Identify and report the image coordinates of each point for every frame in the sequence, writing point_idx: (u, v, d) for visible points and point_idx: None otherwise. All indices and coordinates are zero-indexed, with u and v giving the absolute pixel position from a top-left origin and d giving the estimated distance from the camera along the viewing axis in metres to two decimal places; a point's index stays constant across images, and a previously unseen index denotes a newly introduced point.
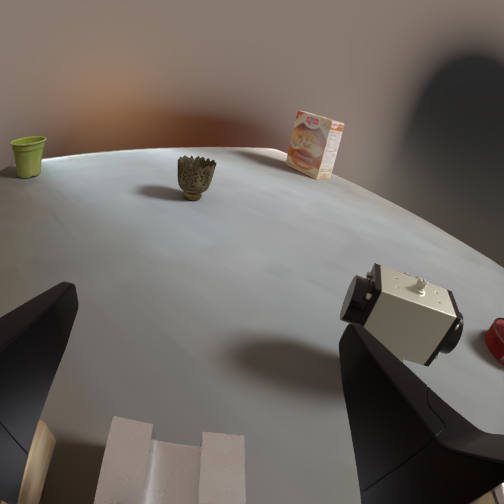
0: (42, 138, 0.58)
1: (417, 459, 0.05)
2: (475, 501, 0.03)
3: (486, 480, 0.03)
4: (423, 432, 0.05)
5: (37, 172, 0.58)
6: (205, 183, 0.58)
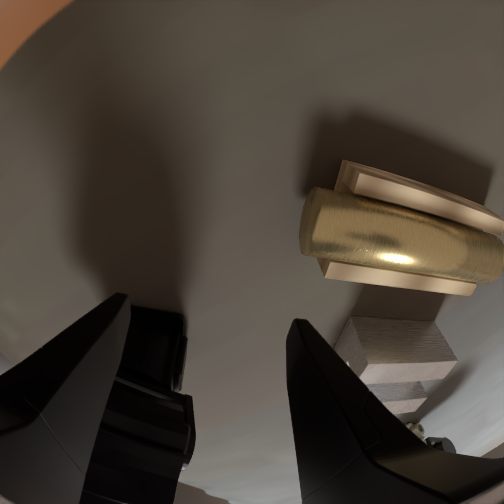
0: None
1: (348, 472, 0.05)
2: None
3: None
4: (353, 442, 0.05)
5: None
6: None
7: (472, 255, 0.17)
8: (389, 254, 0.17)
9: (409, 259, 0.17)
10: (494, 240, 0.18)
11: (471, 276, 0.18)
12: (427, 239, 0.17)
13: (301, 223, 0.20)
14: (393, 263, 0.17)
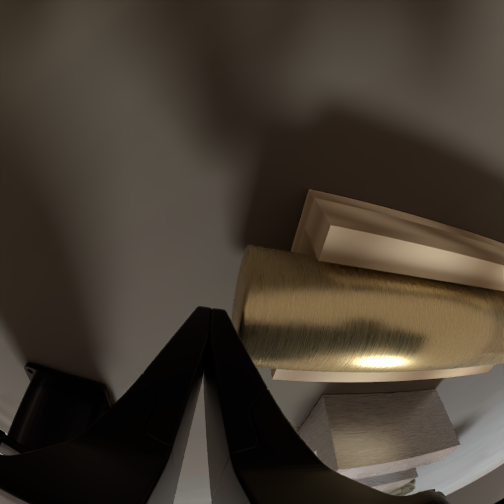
0: None
1: (224, 475, 0.05)
2: None
3: None
4: (226, 444, 0.05)
5: None
6: None
7: None
8: (377, 363, 0.09)
9: (411, 364, 0.10)
10: None
11: (498, 362, 0.11)
12: (444, 332, 0.09)
13: (234, 298, 0.12)
14: (383, 371, 0.10)
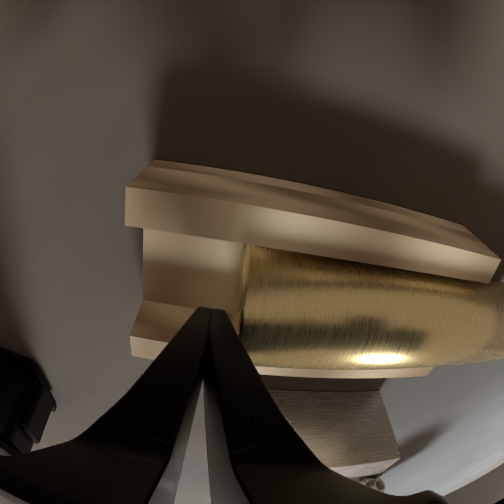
0: None
1: (224, 475, 0.05)
2: None
3: None
4: (225, 443, 0.05)
5: None
6: None
7: None
8: (378, 360, 0.09)
9: (412, 361, 0.10)
10: None
11: (500, 357, 0.11)
12: (445, 328, 0.09)
13: (235, 297, 0.12)
14: (384, 368, 0.10)
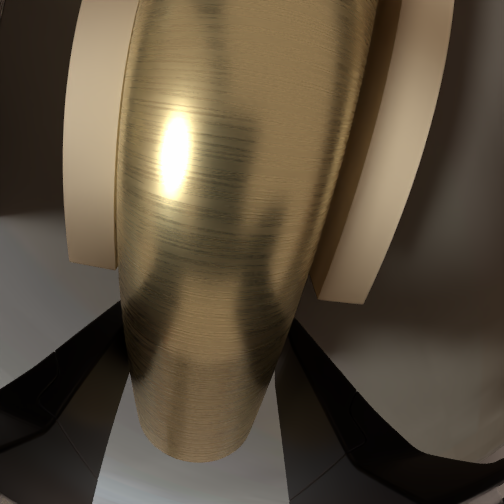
0: None
1: (331, 474, 0.05)
2: None
3: None
4: (337, 444, 0.05)
5: None
6: None
7: (220, 390, 0.06)
8: None
9: (185, 87, 0.03)
10: (252, 422, 0.09)
11: (150, 398, 0.07)
12: (288, 172, 0.04)
13: None
14: (161, 20, 0.03)
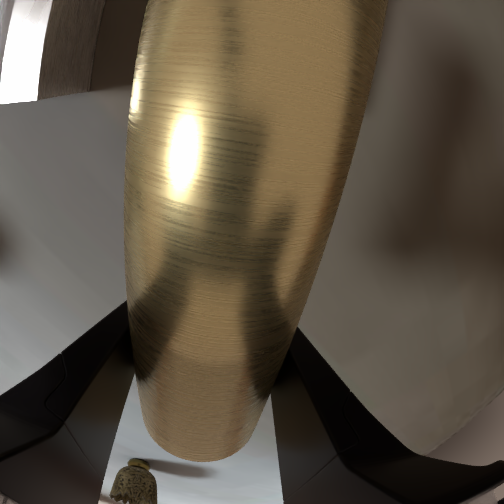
0: None
1: (324, 474, 0.05)
2: None
3: None
4: (329, 445, 0.05)
5: None
6: (118, 476, 0.34)
7: (233, 391, 0.06)
8: None
9: (207, 91, 0.03)
10: None
11: (160, 402, 0.07)
12: (307, 177, 0.04)
13: None
14: (179, 21, 0.03)
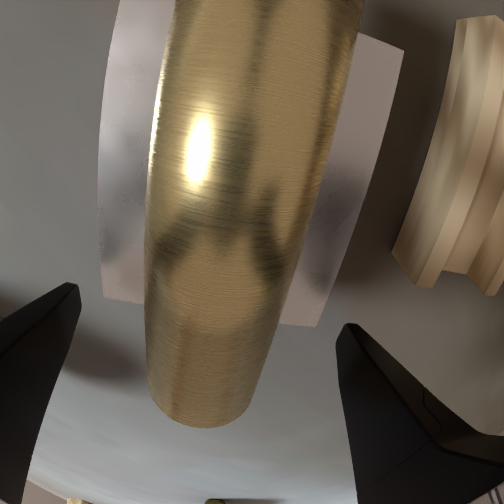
0: None
1: (413, 460, 0.05)
2: (471, 503, 0.03)
3: (483, 482, 0.03)
4: (420, 433, 0.05)
5: None
6: None
7: (231, 346, 0.07)
8: (240, 9, 0.04)
9: (215, 96, 0.05)
10: (255, 387, 0.10)
11: (167, 360, 0.08)
12: (289, 160, 0.05)
13: None
14: (195, 43, 0.04)
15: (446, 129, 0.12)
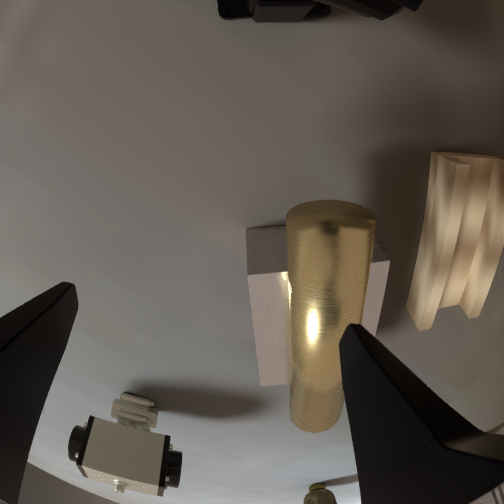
0: None
1: (417, 459, 0.05)
2: (475, 501, 0.03)
3: (486, 480, 0.03)
4: (423, 432, 0.05)
5: None
6: (308, 500, 0.47)
7: (332, 400, 0.18)
8: (326, 325, 0.14)
9: (321, 347, 0.15)
10: None
11: (307, 410, 0.18)
12: None
13: (308, 204, 0.15)
14: (311, 333, 0.15)
15: (427, 238, 0.21)
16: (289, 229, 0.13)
